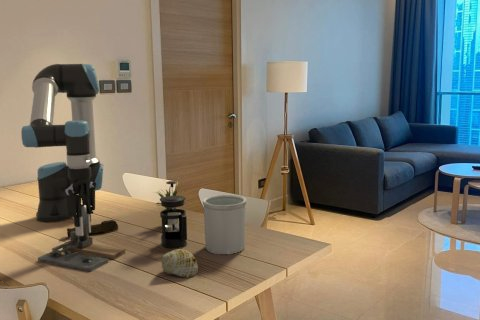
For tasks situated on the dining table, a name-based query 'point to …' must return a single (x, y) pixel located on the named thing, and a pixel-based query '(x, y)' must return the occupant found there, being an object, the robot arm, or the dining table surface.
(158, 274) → the dining table surface
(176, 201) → the french press
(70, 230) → the hand tool
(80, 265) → the bolt plate
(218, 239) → the utensil holder
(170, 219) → the house plant
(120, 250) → the grey lever handle base
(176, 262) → the seashell
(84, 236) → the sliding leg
